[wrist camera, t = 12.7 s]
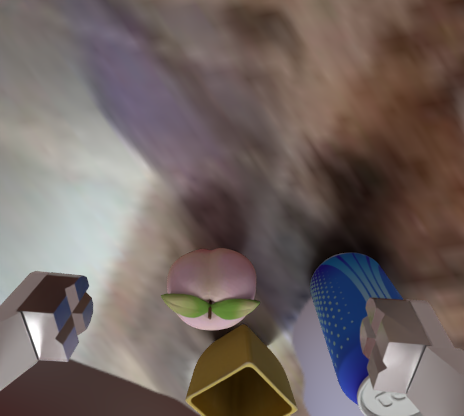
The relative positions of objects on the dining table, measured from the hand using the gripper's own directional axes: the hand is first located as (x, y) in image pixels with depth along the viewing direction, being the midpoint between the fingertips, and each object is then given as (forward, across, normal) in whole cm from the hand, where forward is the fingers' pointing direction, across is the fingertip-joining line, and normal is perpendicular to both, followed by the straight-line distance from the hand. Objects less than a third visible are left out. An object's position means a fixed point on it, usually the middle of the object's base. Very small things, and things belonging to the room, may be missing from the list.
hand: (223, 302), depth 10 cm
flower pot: (+24, 0, +30) cm, 39 cm away
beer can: (+26, -12, +20) cm, 35 cm away
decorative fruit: (+26, +4, +18) cm, 32 cm away
